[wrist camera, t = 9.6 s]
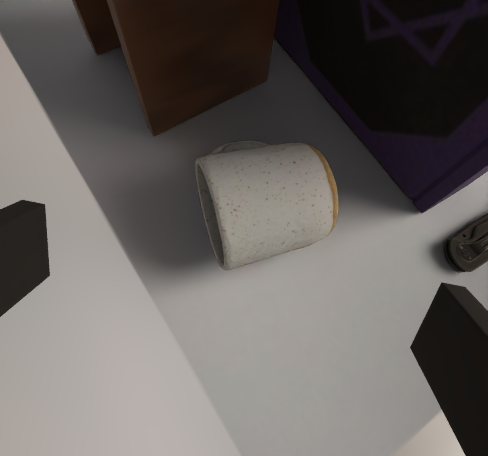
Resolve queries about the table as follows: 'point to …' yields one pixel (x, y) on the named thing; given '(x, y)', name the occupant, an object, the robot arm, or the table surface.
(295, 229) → the ceramic mug
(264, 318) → the table surface
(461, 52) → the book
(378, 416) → the table surface
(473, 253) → the folding knife
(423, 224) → the table surface
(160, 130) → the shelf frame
